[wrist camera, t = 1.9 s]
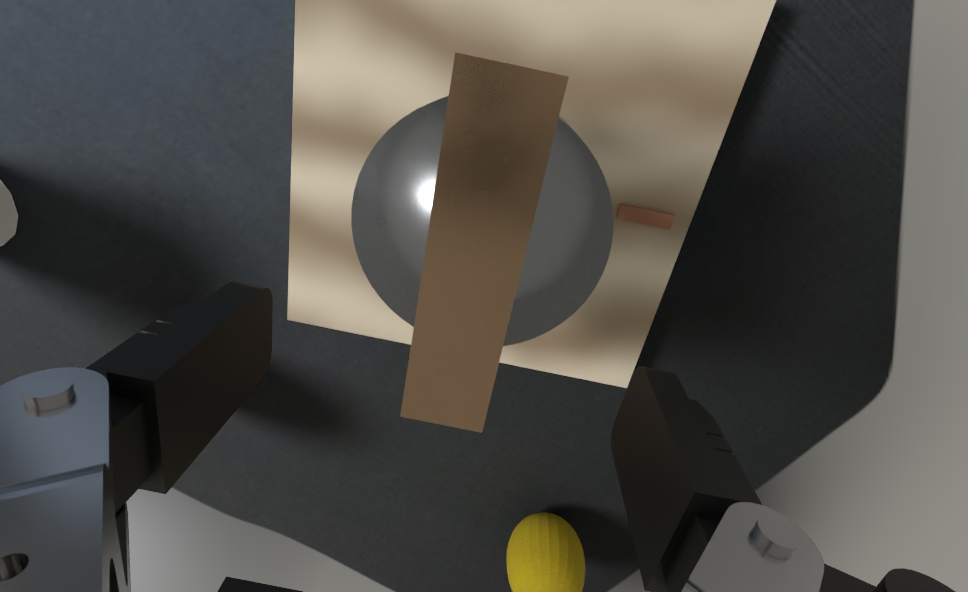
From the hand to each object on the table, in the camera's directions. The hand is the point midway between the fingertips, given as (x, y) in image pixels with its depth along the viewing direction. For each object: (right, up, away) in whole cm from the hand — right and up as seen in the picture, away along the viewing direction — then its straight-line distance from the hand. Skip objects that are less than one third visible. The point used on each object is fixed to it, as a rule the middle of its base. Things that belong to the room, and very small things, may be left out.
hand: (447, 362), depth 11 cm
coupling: (+1, +7, +16) cm, 18 cm away
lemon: (+5, -16, +28) cm, 33 cm away
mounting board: (+1, +8, +17) cm, 19 cm away
